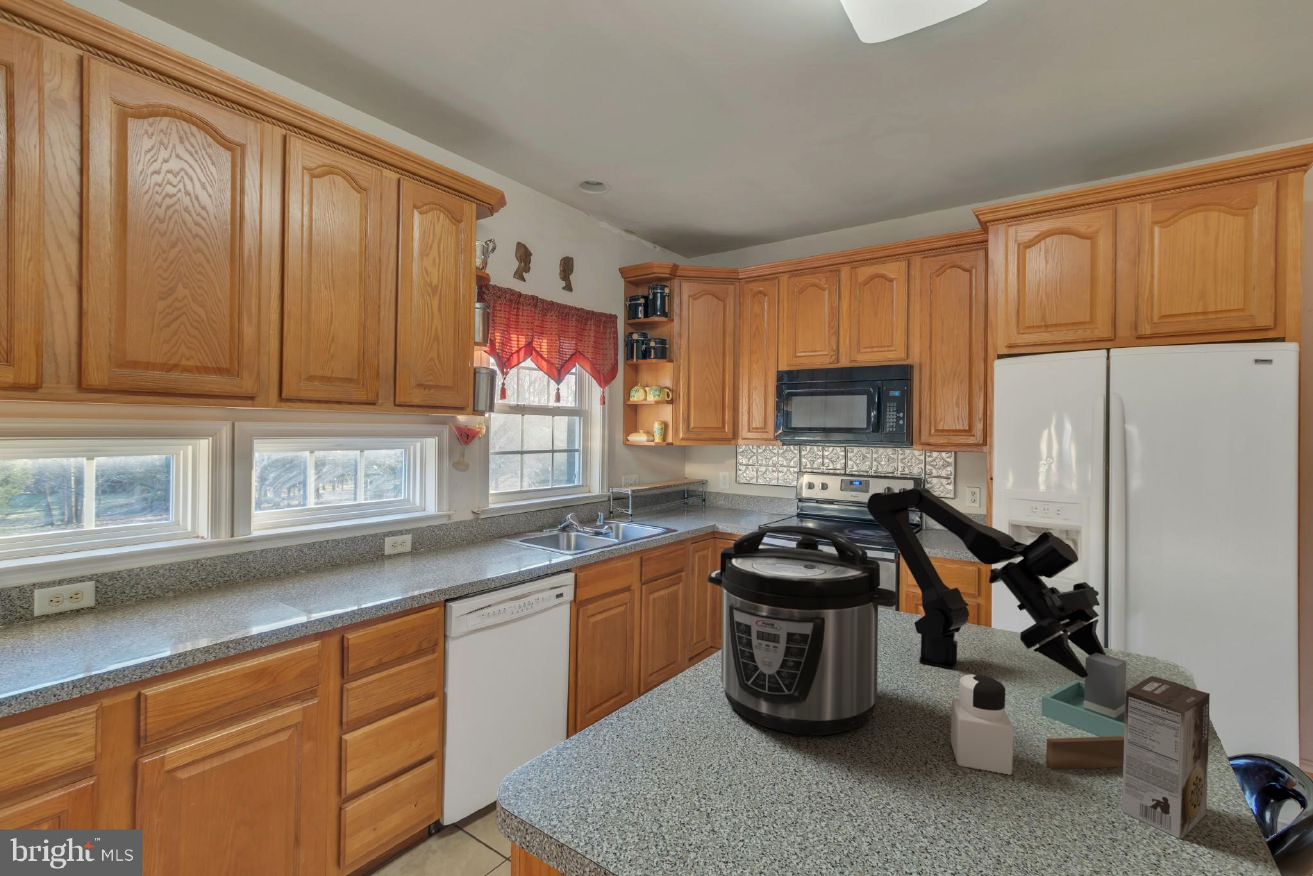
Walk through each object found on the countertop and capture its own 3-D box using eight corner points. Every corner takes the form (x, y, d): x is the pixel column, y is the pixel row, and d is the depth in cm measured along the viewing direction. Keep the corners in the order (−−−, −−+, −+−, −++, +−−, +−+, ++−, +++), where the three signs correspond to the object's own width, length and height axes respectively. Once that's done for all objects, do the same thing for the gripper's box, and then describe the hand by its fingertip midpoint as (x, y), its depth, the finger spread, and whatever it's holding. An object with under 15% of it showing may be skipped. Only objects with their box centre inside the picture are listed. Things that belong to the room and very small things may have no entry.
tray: (1041, 714, 104) (1042, 696, 104) (1075, 695, 111) (1075, 679, 111) (1137, 750, 93) (1138, 730, 92) (1167, 726, 100) (1167, 708, 100)
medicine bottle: (1001, 751, 92) (1004, 674, 91) (1012, 776, 85) (1015, 693, 85) (950, 742, 94) (952, 666, 94) (957, 766, 87) (959, 685, 87)
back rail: (1046, 765, 88) (1046, 738, 88) (1120, 762, 89) (1121, 736, 89) (1051, 769, 87) (1052, 742, 87) (1126, 766, 88) (1127, 739, 88)
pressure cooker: (681, 686, 112) (685, 519, 112) (794, 660, 126) (798, 511, 125) (790, 767, 86) (796, 549, 85) (918, 722, 100) (923, 535, 99)
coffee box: (1146, 789, 82) (1150, 674, 82) (1208, 816, 77) (1212, 692, 77) (1118, 811, 77) (1123, 688, 77) (1182, 841, 72) (1187, 709, 72)
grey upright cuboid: (1083, 715, 102) (1085, 657, 102) (1093, 708, 105) (1095, 652, 105) (1114, 726, 99) (1116, 666, 99) (1124, 719, 101) (1126, 661, 101)
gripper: (1042, 574, 101) (1117, 661, 93) (1088, 562, 112) (1159, 639, 103) (993, 607, 108) (1058, 691, 99) (1040, 593, 119) (1103, 667, 110)
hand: (1096, 671), depth 103 cm, fingers open, 9 cm apart
